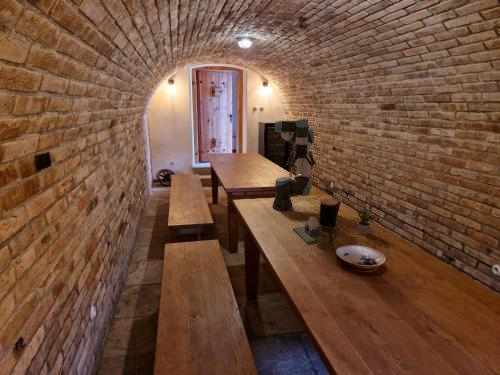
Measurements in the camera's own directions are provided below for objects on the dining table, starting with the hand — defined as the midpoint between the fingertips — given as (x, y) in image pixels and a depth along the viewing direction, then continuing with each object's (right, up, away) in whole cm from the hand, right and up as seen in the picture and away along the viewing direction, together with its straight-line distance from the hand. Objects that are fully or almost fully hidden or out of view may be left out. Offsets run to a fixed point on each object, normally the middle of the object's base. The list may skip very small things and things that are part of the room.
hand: (300, 176), depth 207 cm
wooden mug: (+11, -42, -28) cm, 52 cm away
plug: (+5, -36, -14) cm, 38 cm away
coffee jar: (+17, -34, -2) cm, 38 cm away
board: (+5, -37, -13) cm, 39 cm away
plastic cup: (+26, -28, +19) cm, 42 cm away
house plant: (+37, -36, -10) cm, 53 cm away
